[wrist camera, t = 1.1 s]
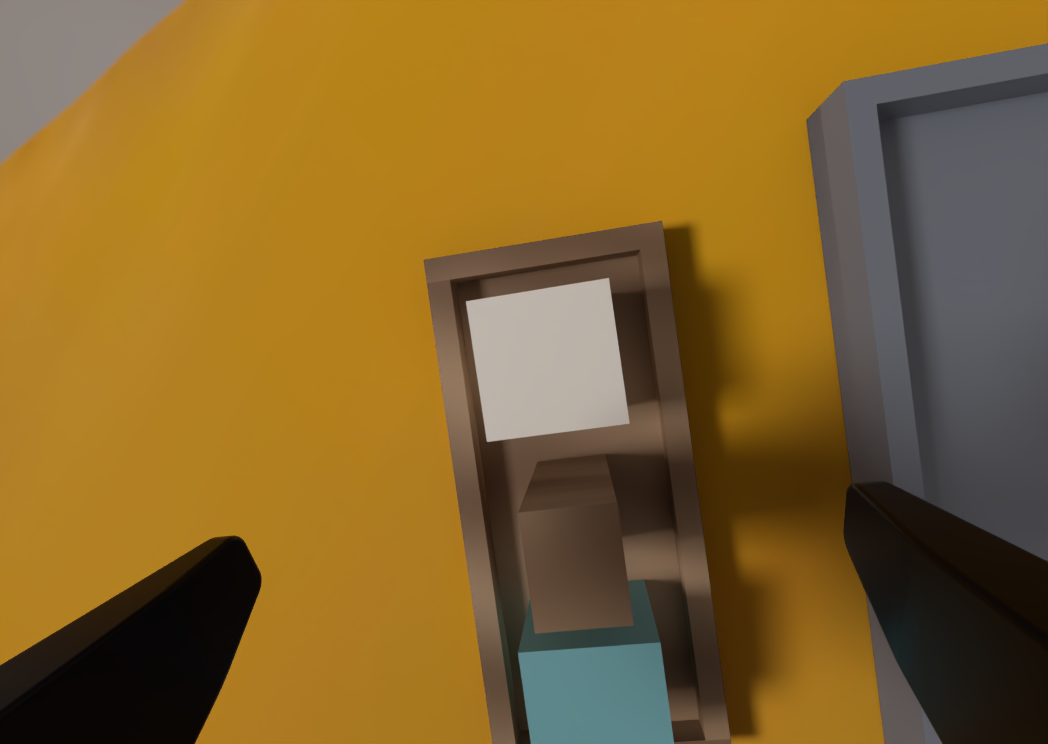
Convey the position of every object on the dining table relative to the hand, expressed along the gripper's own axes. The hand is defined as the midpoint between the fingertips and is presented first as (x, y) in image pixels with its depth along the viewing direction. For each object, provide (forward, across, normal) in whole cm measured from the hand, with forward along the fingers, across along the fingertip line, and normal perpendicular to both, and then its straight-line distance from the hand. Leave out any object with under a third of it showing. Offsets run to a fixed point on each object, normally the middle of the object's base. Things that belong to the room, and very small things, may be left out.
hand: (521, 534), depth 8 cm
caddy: (+10, 0, +7) cm, 12 cm away
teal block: (+7, 0, +11) cm, 13 cm away
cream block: (+11, 0, +2) cm, 11 cm away
